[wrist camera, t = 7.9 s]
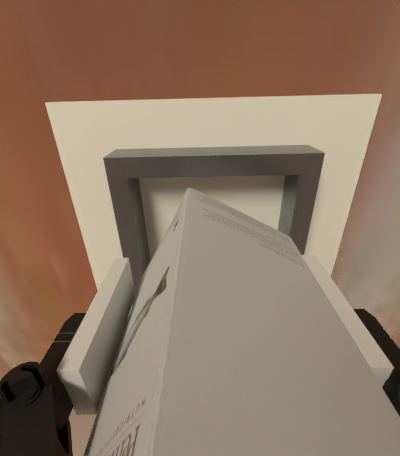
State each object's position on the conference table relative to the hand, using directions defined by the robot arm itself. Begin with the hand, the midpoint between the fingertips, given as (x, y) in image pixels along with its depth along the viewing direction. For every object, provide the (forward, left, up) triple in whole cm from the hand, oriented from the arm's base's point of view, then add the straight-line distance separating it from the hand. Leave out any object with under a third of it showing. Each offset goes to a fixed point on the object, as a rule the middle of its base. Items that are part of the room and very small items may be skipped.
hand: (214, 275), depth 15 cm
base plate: (0, 0, -6) cm, 6 cm away
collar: (0, 0, -5) cm, 5 cm away
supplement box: (0, 0, -2) cm, 2 cm away
